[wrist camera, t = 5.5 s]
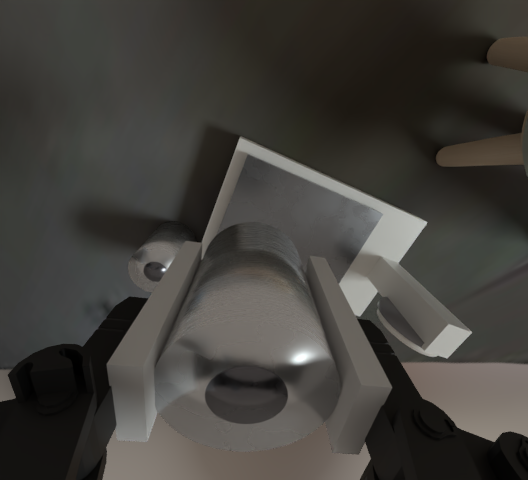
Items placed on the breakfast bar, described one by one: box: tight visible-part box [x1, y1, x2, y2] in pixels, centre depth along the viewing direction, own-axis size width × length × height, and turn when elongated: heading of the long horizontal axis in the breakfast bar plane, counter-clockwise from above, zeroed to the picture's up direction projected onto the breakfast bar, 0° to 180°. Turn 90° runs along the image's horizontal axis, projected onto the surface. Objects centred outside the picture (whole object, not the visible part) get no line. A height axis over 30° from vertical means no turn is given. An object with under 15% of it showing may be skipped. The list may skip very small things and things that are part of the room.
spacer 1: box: [128, 222, 196, 293], centre depth 27 cm, size 5×5×7 cm
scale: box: [202, 136, 472, 358], centre depth 25 cm, size 24×14×14 cm, turn 67°
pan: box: [217, 154, 383, 284], centre depth 27 cm, size 15×12×1 cm
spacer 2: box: [154, 222, 340, 452], centre depth 10 cm, size 5×5×7 cm
